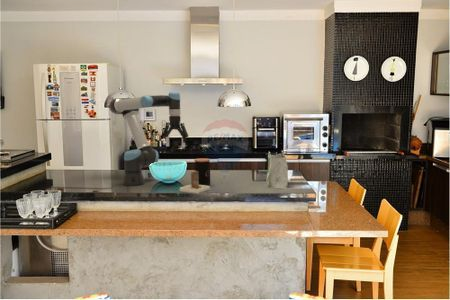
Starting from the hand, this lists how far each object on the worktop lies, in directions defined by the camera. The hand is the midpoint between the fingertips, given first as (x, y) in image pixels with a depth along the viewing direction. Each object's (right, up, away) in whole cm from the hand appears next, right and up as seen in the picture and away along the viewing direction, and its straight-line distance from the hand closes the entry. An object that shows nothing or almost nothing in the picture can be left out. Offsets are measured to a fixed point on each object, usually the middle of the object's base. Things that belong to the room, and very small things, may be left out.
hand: (175, 147), depth 298 cm
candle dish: (+14, -28, -12) cm, 34 cm away
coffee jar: (+18, -27, +4) cm, 32 cm away
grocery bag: (+69, -25, +10) cm, 75 cm away
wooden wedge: (+14, -28, -12) cm, 33 cm away
